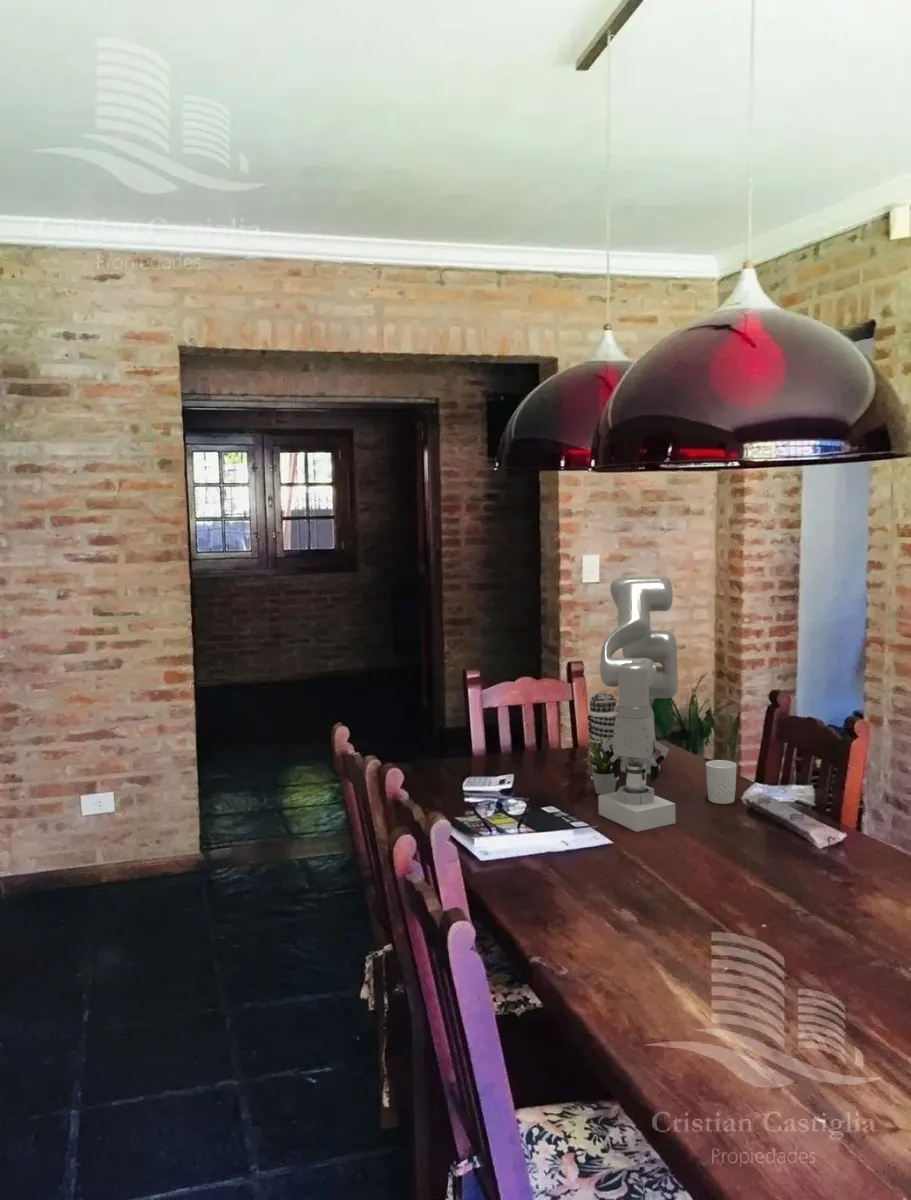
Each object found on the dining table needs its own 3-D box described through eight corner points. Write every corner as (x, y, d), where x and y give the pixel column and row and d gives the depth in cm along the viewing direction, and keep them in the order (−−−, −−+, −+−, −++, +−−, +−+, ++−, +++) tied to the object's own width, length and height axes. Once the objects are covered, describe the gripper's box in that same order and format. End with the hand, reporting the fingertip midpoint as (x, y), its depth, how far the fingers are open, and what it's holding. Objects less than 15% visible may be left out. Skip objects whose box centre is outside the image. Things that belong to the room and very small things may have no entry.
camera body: (598, 814, 240) (598, 785, 239) (636, 806, 245) (635, 778, 244) (636, 831, 225) (635, 801, 225) (675, 823, 231) (674, 793, 230)
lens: (622, 798, 236) (621, 763, 235) (638, 795, 238) (637, 760, 237) (634, 803, 231) (633, 767, 231) (650, 800, 233) (650, 764, 233)
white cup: (740, 804, 243) (740, 767, 242) (710, 805, 243) (709, 768, 242) (732, 795, 251) (731, 759, 250) (703, 796, 251) (702, 760, 250)
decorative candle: (586, 782, 269) (584, 697, 266) (591, 773, 277) (589, 691, 275) (618, 783, 266) (616, 698, 264) (622, 774, 275) (620, 692, 273)
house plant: (637, 801, 249) (636, 741, 248) (586, 802, 250) (584, 743, 248) (628, 785, 264) (627, 729, 262) (580, 787, 264) (578, 731, 262)
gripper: (596, 712, 234) (598, 778, 235) (663, 717, 225) (664, 786, 227) (606, 706, 240) (608, 771, 242) (672, 711, 232) (673, 777, 233)
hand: (635, 778), depth 234 cm, fingers open, 9 cm apart
